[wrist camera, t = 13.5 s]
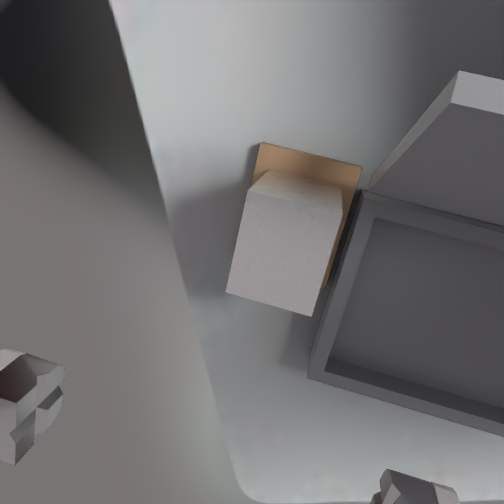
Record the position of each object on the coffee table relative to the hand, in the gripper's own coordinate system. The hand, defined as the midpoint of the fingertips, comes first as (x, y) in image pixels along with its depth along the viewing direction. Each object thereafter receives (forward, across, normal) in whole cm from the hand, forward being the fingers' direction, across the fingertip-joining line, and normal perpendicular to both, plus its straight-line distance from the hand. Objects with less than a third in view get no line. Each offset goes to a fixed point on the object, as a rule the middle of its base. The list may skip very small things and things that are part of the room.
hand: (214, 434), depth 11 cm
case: (+23, -12, +4) cm, 26 cm away
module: (+22, 0, 0) cm, 22 cm away
